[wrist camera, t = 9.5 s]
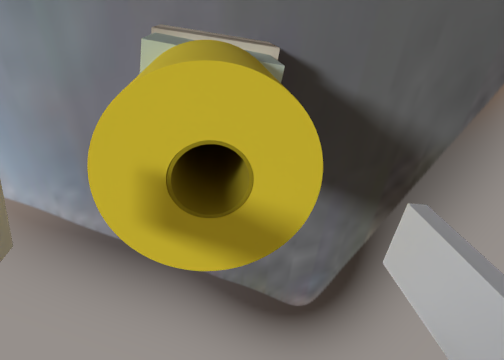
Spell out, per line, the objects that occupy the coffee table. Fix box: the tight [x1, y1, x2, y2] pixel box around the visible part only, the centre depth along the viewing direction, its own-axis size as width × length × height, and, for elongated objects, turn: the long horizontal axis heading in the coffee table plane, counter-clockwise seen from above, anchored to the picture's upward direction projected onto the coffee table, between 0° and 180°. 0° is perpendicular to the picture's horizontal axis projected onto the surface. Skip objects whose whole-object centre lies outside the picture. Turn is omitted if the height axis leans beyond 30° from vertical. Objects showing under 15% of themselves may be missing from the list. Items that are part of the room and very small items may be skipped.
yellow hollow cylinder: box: [88, 40, 323, 271], centre depth 19 cm, size 10×10×9 cm
